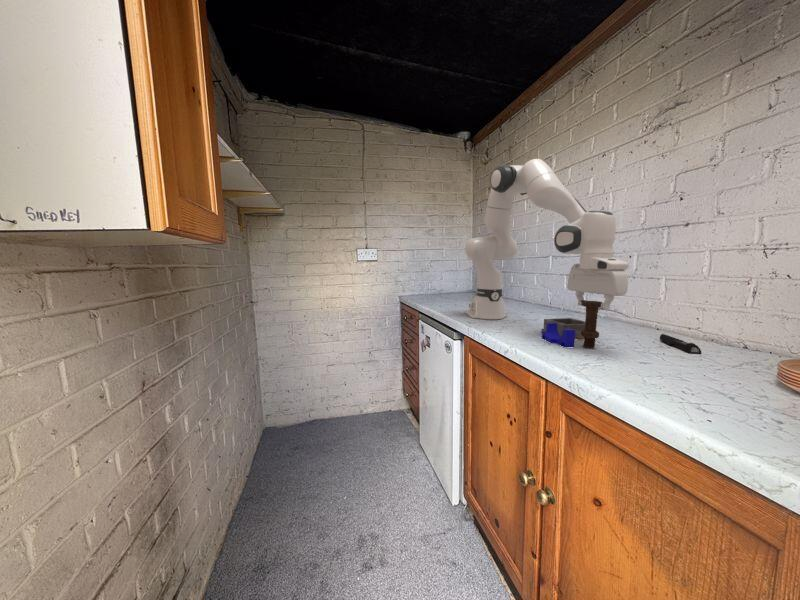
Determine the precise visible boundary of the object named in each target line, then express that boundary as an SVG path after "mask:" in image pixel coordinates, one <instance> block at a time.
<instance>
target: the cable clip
mask: <svg viewBox="0 0 800 600" xmlns="http://www.w3.org/2000/svg"><path fill="white" fill-rule="evenodd" d="M541 331H542V330H541ZM541 339H542V340H543V339H544V341H545V340H546V342H547V341H548V342H547V343H549V342H550V343H549V344H556V345H559V346H560V345H561V346H560V347H562V346H564V347H574V348H575V330H573V329H563V334H562V336H560V335H559V333H558V329H557V323H547V326H546V331H542V332H541ZM564 347H563V348H564Z"/></svg>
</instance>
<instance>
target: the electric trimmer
mask: <svg viewBox="0 0 800 600" xmlns="http://www.w3.org/2000/svg"><path fill="white" fill-rule="evenodd" d="M659 340H660V341H661V342H663V343H665V344H666V345H668V346H669V347H674V346H675V348H677V349H679V350H680V349H681V350H682V351H685V353H686V352H687V353H686V354H690V355H702V350H701V348H700V347H699V346H698V345H697V344H695V343H693V342H687V341H684V340H681V339H679V338H676V337H673V336H671V335H667V334H664V333H661V334H660V335H659Z"/></svg>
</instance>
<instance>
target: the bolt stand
mask: <svg viewBox="0 0 800 600" xmlns="http://www.w3.org/2000/svg"><path fill="white" fill-rule="evenodd" d="M547 323H557V329H558V333H559V335H560V336H562V334H563V329H573V330H575V339H577V340H584V337H583V336H582V335H581V331H582V330H585V320H581V319H577V318H573V317H563V318H561V317H560V318H544V319H543V328H541V333H542V331H546V326H547Z"/></svg>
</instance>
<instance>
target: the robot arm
mask: <svg viewBox="0 0 800 600" xmlns="http://www.w3.org/2000/svg"><path fill="white" fill-rule="evenodd" d="M489 180H490V181H489V183H490V187H491V190H490V193H489V195H488V199H487V203H486V209H485V214H484V219H483V221H484V225H485V226H486V227H487V228H488V229H489V230H490V231H491V233H492V235H491V236H477V237H472V238H469V239H468V241H467V242H466V243H465V247H464V252H465V254H466V257H468V259H470V260H471V262H472V263H473V264H474V266H475V267H476V271H477V277H478V278H477V282H478V284H477V285H478V286H477V289H476V294H475V295H476V296H475V297H474V298H473V299H472V301H470V303H468V309H469V310H466V311H465V314H466V315H467V316H468V317H470V318H471V319H482V320H502V319H504V318H507V316H508V315H507V313H506V314H505V300H504V299H503V289H502V287H503V286H502V284H503V273H502V271H500V269H499V268H497V267H495V265H494V264H493V261H504V260H510V259H512V258H515V256H516V255H517V253H518V249H519V247H518V243H517V241H516V240H515V239H514V238H513V236H512V234H511V231H510V219H511V214H512V210H513V204H514V200H515V197H516V196H517V195H519V194H520V195H521V196H524V195H527V196H528V198H529V200H530V201H531V202H532V204H534V205H535V206H537V208H541V209H544V210H547V211H551V212H555V213H557V214H559V215H560V216H563V217H564V218H565V219H566V220H567V221H568V222H569V224H566V225H565V224H564V225H562V226H561V227H560V228H558V230H557V231H556V233H555V235H554V239H553V243H554V246H555V249H556V250H557V251H558V252H559V253H563V254H568V255H569V254H570V255H571V254H572V255H579V263H574V264H573V265H572V266H571V268H570V271H569V274H568V278H567V284H566V285H567V286H566V288H567V289H568V291H571V292H575V296H576V299H577V306H580V307H582V302H583V301H587V300H586V299H584V295H585V293H586V294H587V293H589V294H597V295H603V299H604V302H602V304H601V308H600V309H601V310H603V311H609V310H610V308H611V304H612V303H613V301H614V300H615V297H622V296H625V295H626V294H627V292H628V288H629V287H628V286H629V274H628V271H626V270H628V269H629V262H627V261H625V260H622V259H619V258H617V257H614V254H615V252H614V247H613V246H614V242H615V239H616V226H617V225H616V218H615V215H614V214H613V213H612V212H611V211H605V210H588V211H587V210H586V209H585V207H584V206H583V205H582V203H580V201H579V200H578V199H577V198H576V197H575V196H574V195H573V194H571V192H570V191H569V190H568V189H567V188H566V186H565V185H563V184H562V182H561V180H560V179H559V178H558V177H557V175H556V174H555V171H554V170H553V169H552V168H551V167H550V166H549V164H547V163H546V162H545V161H544V160H543V159H541V158H533V159H530V160H528V161H527V162H525V163H524V164H515V165H509V164H503V165H499V166H496V167H495V168H494V169H493V171H492V172H491V175H490V179H489Z"/></svg>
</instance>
